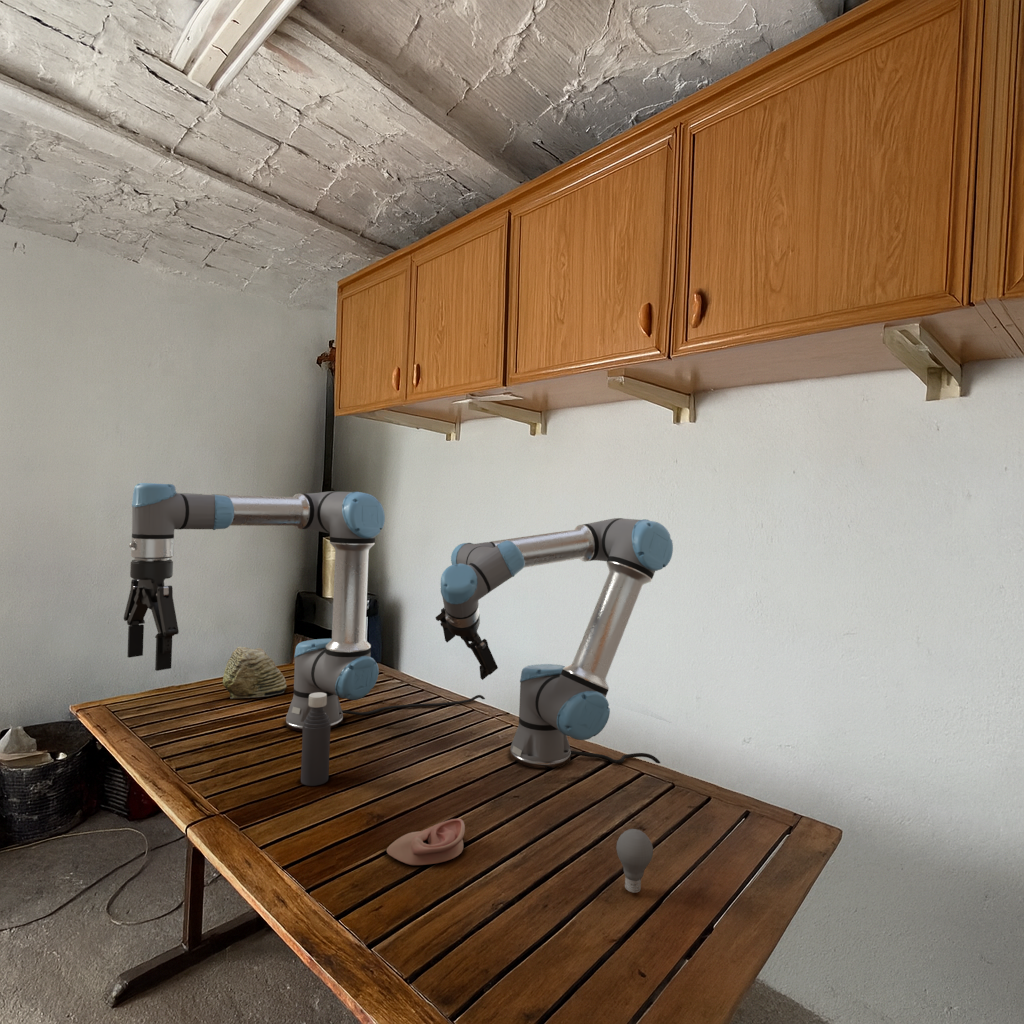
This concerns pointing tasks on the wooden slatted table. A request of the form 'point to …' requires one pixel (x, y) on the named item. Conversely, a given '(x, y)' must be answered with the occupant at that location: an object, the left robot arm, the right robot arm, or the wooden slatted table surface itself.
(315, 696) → the cap
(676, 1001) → the wooden slatted table surface
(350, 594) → the left robot arm
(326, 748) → the bottle
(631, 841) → the light bulb
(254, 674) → the fossil
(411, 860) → the anatomical model
